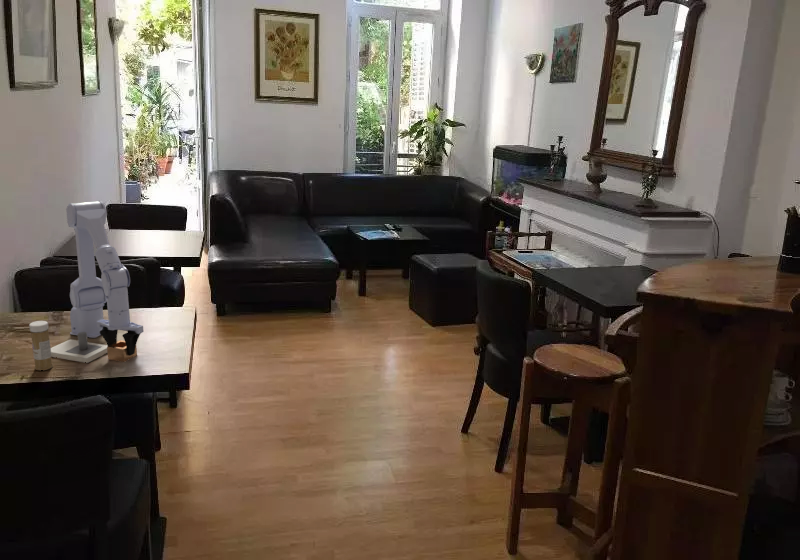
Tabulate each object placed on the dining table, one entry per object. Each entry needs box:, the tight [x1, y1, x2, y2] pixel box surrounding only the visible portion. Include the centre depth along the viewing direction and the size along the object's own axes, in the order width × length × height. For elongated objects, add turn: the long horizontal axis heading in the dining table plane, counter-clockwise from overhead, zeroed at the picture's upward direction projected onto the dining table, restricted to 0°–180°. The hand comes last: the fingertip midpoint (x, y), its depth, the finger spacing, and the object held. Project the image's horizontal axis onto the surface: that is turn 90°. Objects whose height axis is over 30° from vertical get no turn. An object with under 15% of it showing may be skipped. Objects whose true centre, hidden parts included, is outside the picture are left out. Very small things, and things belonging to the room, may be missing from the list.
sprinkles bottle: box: [28, 320, 54, 371], centre depth 183 cm, size 5×5×14 cm
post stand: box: [50, 332, 108, 364], centre depth 195 cm, size 15×10×6 cm, turn 73°
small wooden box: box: [107, 339, 138, 363], centre depth 193 cm, size 6×6×4 cm
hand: (122, 352), depth 193 cm, fingers closed on small wooden box, 6 cm apart
